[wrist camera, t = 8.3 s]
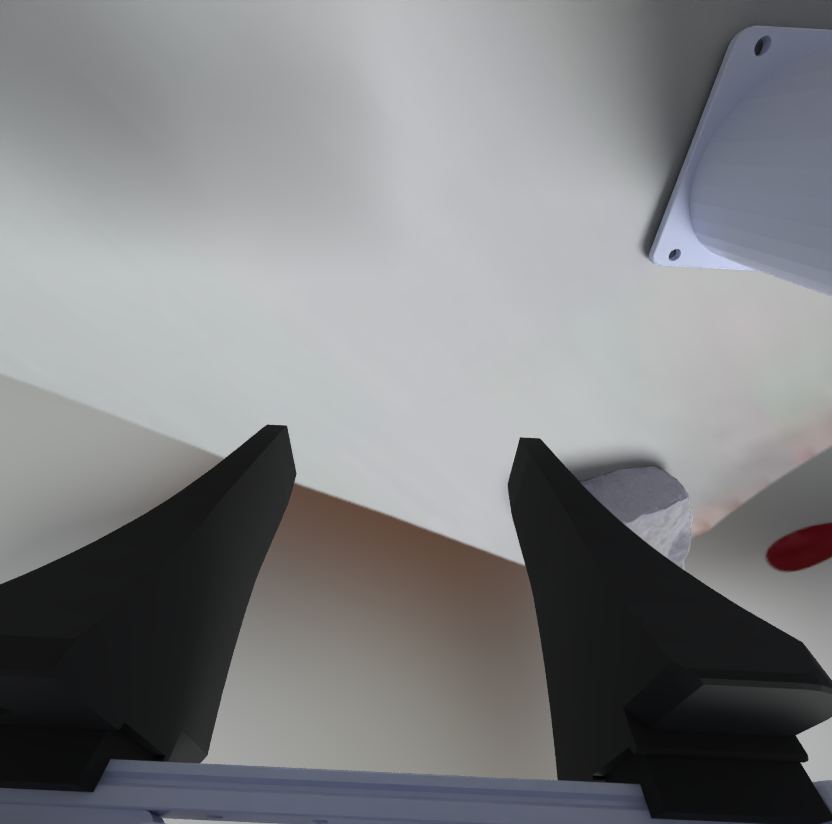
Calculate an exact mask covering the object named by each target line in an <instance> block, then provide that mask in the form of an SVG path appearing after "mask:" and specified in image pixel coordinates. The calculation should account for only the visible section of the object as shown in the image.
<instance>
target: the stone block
mask: <svg viewBox="0 0 832 824" xmlns="http://www.w3.org/2000/svg"><path fill="white" fill-rule="evenodd" d="M579 482H580V483H581V484H582V485H583V486H584V487H585V488H586V489H587V490H588V491H589V492H590V493H591V494H592V495H593V496H594V497H595V498H596V499H597V500H598V501H599V502H600V503H601V504H603V505H604V506H605V507H606V508H607V509H608V510H609V511H610V512H611V513H612V514H613V515H614V516H615V517H617V518H618V519H619V520H620V521H621V522H622V523H623V524H625V525H626V526H627V527H628V528H629V529H631V530H632V531H633V532H634V533H636V534H637V535H638V536H639V537H640V538H642V539H643V540H644V541H645V542H647V543H648V544H649V545H650V546H652V547H653V548H654V549H656V550H657V551H658V552H660V553H661V554H662V555H664V556H665V557H666V558H668V559H669V560H671V561H672V562H673V563H675V564H676V565H678V566H679V567H680V568H682V569H683V570H684V568H685V565H684V559H685V557H686V556H687V555H688V552H689V548H690V543H691V529H690V527H691V525H692V521H693V518H692V516H693V515H692V512H691V509H692V508H691V506H690V500H689V495H688V493H687V492H686V491H685V489H684V487H683V486H682V485H681V484H680V483H679V481H678V480H677V479H675V478H674V477H672V476H671V475H669V474H668V473H667V472H665V471H662V470H660V469H659V468H658V467H656V466H647V467H640V468H626V469H619V470H616V471H613V472H610V473H608V474H604V475H599V476H597V477H595V478H593V479H590V480H585V481H579Z"/></svg>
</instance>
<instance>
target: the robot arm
mask: <svg viewBox="0 0 832 824" xmlns="http://www.w3.org/2000/svg"><path fill="white" fill-rule="evenodd" d="M759 39H762V41H763V47H762V50H761V51H760V53H759V54H758V55H755V52H754V49H755V45H756V43H757V42H758V40H759ZM674 249H676V254H675V255H674V257H672V258H671V259H669V254H670V252H671V251H673V250H674ZM649 260H650V261H651V262H652V263H653V264H656V265H660V266H679V267H698V268H717V269H736V270H756V271H761V272H764V273H766V274H769V275H772V276H775V277H778V278H781V279H783V280H786V281H789V282H792V283H795V284H798V285H800V286H803V287H806V288H809V289H812V290H815V291H817V292H820V293H823V294H826V295H829V296H832V30H828V29H810V28H792V27H774V26H751V27H748V28H745V29H743V30H742V31H740V32H739V33H737V34H736V36H735V37H734V38H733V39H732V41H731V42H730V44H729V46H728V49H727V51H726V54H725V57H724V59H723V62H722V64H721V67H720V70H719V72H718V75H717V77H716V80H715V83H714V85H713V88H712V91H711V93H710V96H709V98H708V101H707V104H706V106H705V109H704V111H703V114H702V117H701V119H700V122H699V125H698V127H697V130H696V132H695V135H694V138H693V140H692V143H691V145H690V148H689V151H688V153H687V156H686V158H685V161H684V164H683V166H682V169H681V172H680V174H679V177H678V179H677V182H676V185H675V187H674V190H673V192H672V195H671V198H670V200H669V203H668V206H667V208H666V211H665V213H664V216H663V219H662V221H661V224H660V226H659V229H658V232H657V234H656V237H655V240H654V242H653V245H652V247H651V250H650V253H649ZM295 477H296V469H295V464H294V459H293V454H292V449H291V444H290V439H289V434H288V429H287V426H283V425H266V426H265V427H264V428H262V429H261V430H260V431H258V432H257V433H256V434H255V435H253V436H252V437H251V438H250V439H249V440H247V441H246V442H245V443H244V444H242V445H241V446H240V447H239V448H238V449H236V450H235V451H234V452H233V453H231V454H230V455H229V456H227V457H226V458H225V459H224V460H222V461H221V462H220V463H219V464H217V465H216V466H215V467H214V468H212V469H211V470H209V471H208V472H207V473H205V474H204V475H202V476H201V477H200V478H198V479H197V480H196V481H194V482H193V483H191V484H190V485H189V486H187V487H186V488H185V489H183V490H182V491H180V492H179V493H177V494H176V495H174V496H173V497H171V498H170V499H168V500H167V501H165V502H163V503H162V504H160V505H159V506H157V507H155V508H154V509H152V510H150V511H149V512H147V513H146V514H144V515H142V516H140V517H139V518H137V519H135V520H134V521H132V522H130V523H128V524H126V525H124V526H122V527H121V528H119V529H117V530H115V531H113V532H112V533H110V534H108V535H106V536H104V537H102V538H100V539H98V540H97V541H95V542H93V543H91V544H89V545H87V546H85V547H83V548H81V549H79V550H76V551H75V552H73V553H70V554H68V555H66V556H64V557H62V558H60V559H58V560H56V561H53V562H51V563H49V564H47V565H45V566H42V567H40V568H38V569H36V570H33V571H31V572H29V573H27V574H24V575H22V576H20V577H17V578H15V579H12V580H10V581H8V582H5V583H3V584H0V824H165V823H164V821H163V819H162V818H173V819H193V820H194V819H195V820H214V821H237V822H258V823H279V824H832V780H829V781H828V780H827V781H818V782H813V783H812V781H811V780H810V778H809V776H808V775H807V773H806V771H805V770H804V768H803V766H802V765H801V763H800V762H806V761H808V755H807V753H806V751H805V750H804V749H803V747H802V745H801V744H800V742H799V740H798V739H797V737H796V736H795V735H797V734H799V733H801V732H803V731H805V730H807V729H809V728H811V727H813V726H815V725H817V724H819V723H821V722H823V721H825V720H827V719H829V718H830V717H832V680H831V679H830V678H829V676H828V675H827V674H826V672H825V671H824V670H823V669H822V667H821V666H820V664H819V663H818V662H817V661H816V659H815V658H814V657H813V655H812V654H811V653H810V651H809V650H808V649H807V648H806V646H805V645H804V644H803V643H802V642H801V641H798V640H797V639H795V638H794V637H792V636H790V635H788V634H787V633H785V632H783V631H782V630H780V629H778V628H776V627H775V626H773V625H771V624H769V623H768V622H766V621H764V620H762V619H761V618H758V617H757V616H755V615H753V614H752V613H750V612H748V611H747V610H745V609H743V608H742V607H740V606H738V605H737V604H735V603H733V602H732V601H730V600H728V599H727V598H726V597H724V596H722V595H721V594H719V593H718V592H716V591H714V590H713V589H711V588H710V587H708V586H707V585H705V584H704V583H702V582H701V581H699V580H698V579H696V578H695V577H693V576H692V575H690V574H689V573H687V572H686V571H684V570H683V569H682V568H680V567H679V566H678V565H676V564H675V563H673V562H672V561H671V560H669V559H668V558H666V557H665V556H664V555H662V554H661V553H660V552H658V551H657V550H656V549H654V548H653V547H652V546H650V545H649V544H648V543H647V542H645V541H644V540H643V539H642V538H640V537H639V536H638V535H637V534H636V533H634V532H633V531H632V530H631V529H629V528H628V527H627V526H626V525H625V524H623V523H622V522H621V521H620V520H619V519H618V518H617V517H615V516H614V515H613V514H612V513H611V512H610V511H609V510H608V509H607V508H606V507H605V506H604V505H603V504H601V503H600V502H599V501H598V500H597V499H596V498H595V497H594V496H593V495H592V494H591V493H590V492H589V491H588V490H587V489H586V488H585V487H584V486H583V485H582V484H581V483H580V482H579V481H578V480H577V479H576V478H575V476H574V475H573V474H572V473H571V472H570V471H569V470H568V469H567V468H566V467H565V466H564V465H563V463H562V462H561V461H560V460H559V459H558V458H557V457H556V456H555V455H554V453H553V452H552V451H551V450H550V449H549V448H548V447H547V446H546V445H545V443H544V442H543V441H542V440H541V439H539V438H520V440H519V444H518V447H517V451H516V455H515V459H514V462H513V466H512V470H511V474H510V478H509V481H508V491H509V499H510V506H511V513H512V517H513V521H514V525H515V528H516V532H517V536H518V540H519V543H520V547H521V551H522V554H523V558H524V561H525V565H526V568H527V572H528V576H529V579H530V583H531V588H532V592H533V597H534V602H535V608H536V614H537V620H538V626H539V632H540V638H541V645H542V652H543V658H544V664H545V672H546V679H547V687H548V695H549V703H550V710H551V719H552V728H553V737H554V746H555V756H556V765H557V766H556V767H557V777H558V780H538V779H517V778H496V777H475V776H454V775H432V774H412V773H390V772H369V771H348V770H326V769H306V768H284V767H264V766H242V765H221V764H200V763H201V762H202V761H203V760H204V758H205V757H206V756H207V755H208V750H209V746H210V741H211V738H212V733H213V729H214V725H215V721H216V717H217V712H218V709H219V705H220V701H221V696H222V693H223V689H224V685H225V682H226V678H227V674H228V670H229V667H230V663H231V659H232V656H233V652H234V649H235V645H236V642H237V638H238V635H239V632H240V628H241V625H242V621H243V618H244V614H245V612H246V608H247V605H248V602H249V599H250V596H251V593H252V590H253V586H254V583H255V581H256V578H257V576H258V573H259V570H260V568H261V565H262V563H263V561H264V559H265V556H266V554H267V552H268V549H269V547H270V544H271V542H272V540H273V538H274V535H275V533H276V531H277V529H278V526H279V523H280V522H281V519H282V517H283V514H284V512H285V510H286V507H287V505H288V502H289V499H290V495H291V492H292V488H293V485H294V481H295Z"/></svg>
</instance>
